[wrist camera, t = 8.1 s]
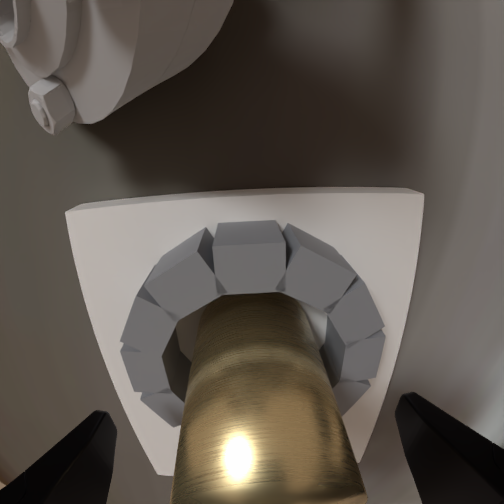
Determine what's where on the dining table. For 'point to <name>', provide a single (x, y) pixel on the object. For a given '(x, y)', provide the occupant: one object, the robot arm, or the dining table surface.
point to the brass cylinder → (261, 412)
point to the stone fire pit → (246, 288)
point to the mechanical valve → (102, 50)
